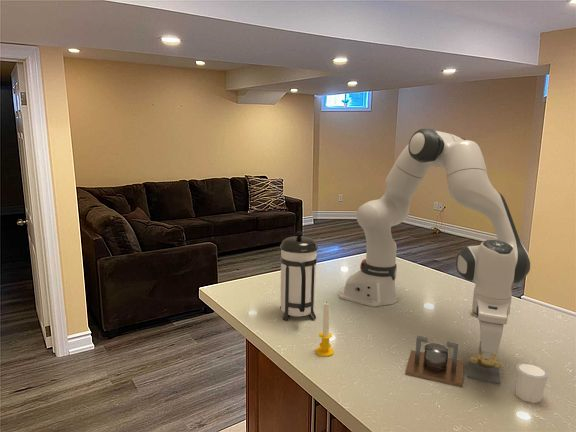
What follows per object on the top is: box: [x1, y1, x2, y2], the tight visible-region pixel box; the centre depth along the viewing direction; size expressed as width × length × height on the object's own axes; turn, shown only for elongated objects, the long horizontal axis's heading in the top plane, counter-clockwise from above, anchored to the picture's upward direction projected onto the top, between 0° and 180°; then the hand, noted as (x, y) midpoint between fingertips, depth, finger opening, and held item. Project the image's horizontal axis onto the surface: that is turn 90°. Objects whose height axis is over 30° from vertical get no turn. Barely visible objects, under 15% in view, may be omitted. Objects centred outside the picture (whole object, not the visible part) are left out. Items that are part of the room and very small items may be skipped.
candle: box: [315, 301, 335, 358], centre depth 121 cm, size 5×5×16 cm
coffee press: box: [279, 230, 319, 322], centre depth 144 cm, size 17×16×30 cm
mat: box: [466, 360, 501, 386], centre depth 113 cm, size 8×8×1 cm
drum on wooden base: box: [405, 335, 464, 388], centre depth 114 cm, size 14×12×8 cm
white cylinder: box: [515, 362, 549, 404], centre depth 103 cm, size 7×7×7 cm
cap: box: [469, 342, 503, 368], centre depth 112 cm, size 8×4×6 cm, turn 72°
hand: (485, 352), depth 112 cm, fingers closed on cap, 4 cm apart
